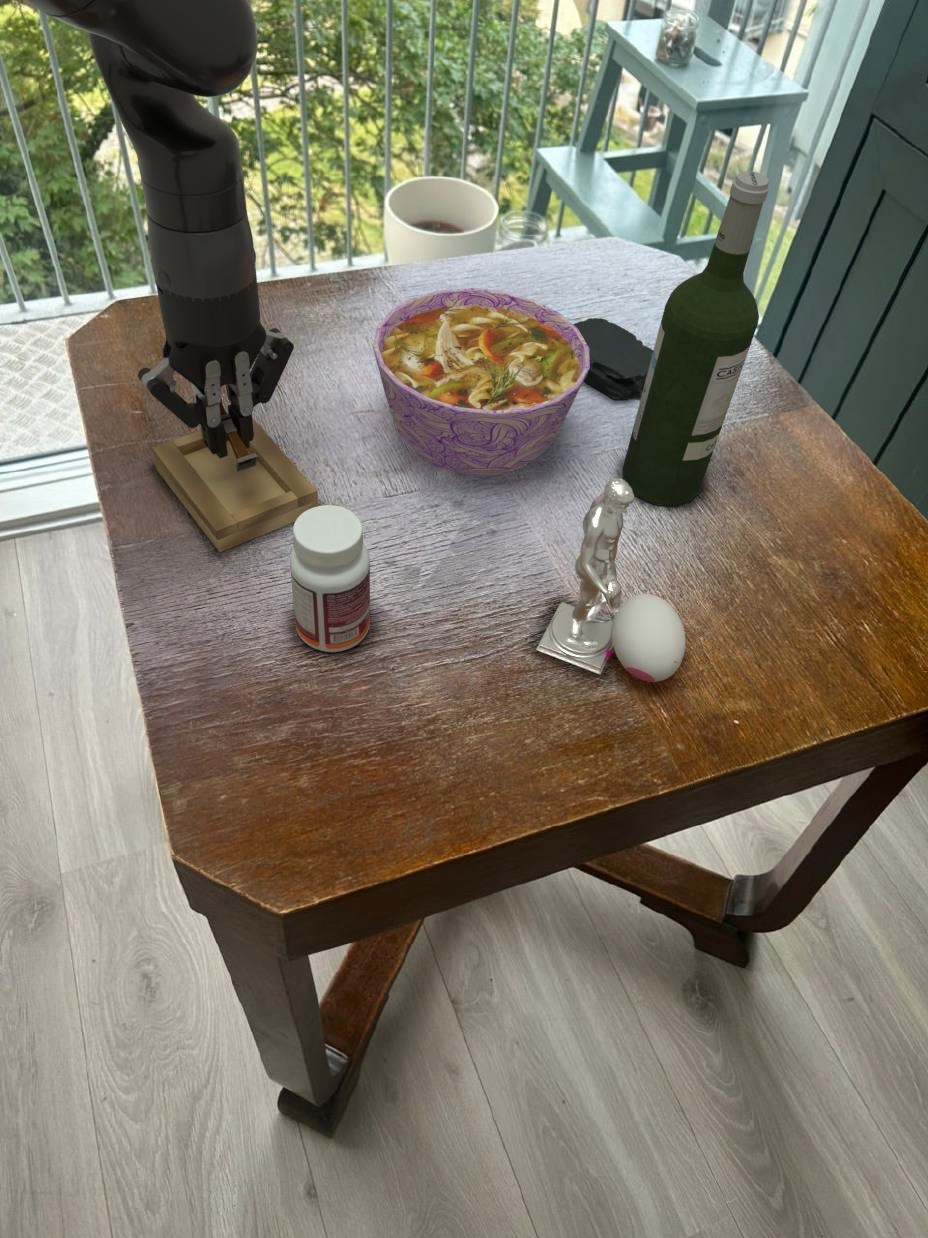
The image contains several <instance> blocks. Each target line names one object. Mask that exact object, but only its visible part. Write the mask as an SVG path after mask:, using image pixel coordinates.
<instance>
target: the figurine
mask: <svg viewBox="0 0 928 1238" xmlns="http://www.w3.org/2000/svg"><path fill="white" fill-rule="evenodd" d="M635 497H636V496H635V494H634V493H633V491H632V489H631V487H630V486H629V484H628V483H627V482H626V481H625V480H623V478H621V477H614V478H611V479H609V481H607V483H606V484H605V487H604V492H602V493H601V494H599V495H598V496H597V497H596V498H595V499H594V500H593V502H592V503H591V504H590V507H589V510H588V511H587V512H586V513H585V515H584V517H583V520H582V531H583V534H584V536H583V539H582V543H581V546H580V553H579V556H578V557H577V558H576V560H575V564H574V570H575V573H576V575H577V577H579V579H580V583H579V591H580V592H579V593H580V597H579V601H578V602H577V603H576V605H572V604H569V603H566V602H563V601H561V602H560V603H559V604H558V607H557V608H556V610H555V612H554V614H553V616H552V618H551V620H550V622H549V624H548V626H547V628H546V630H545V632H544V634H543V635H542V637H541V639H540V642H539V643H538V645H537V647H536V649H535V650H536V651H537V652H539V653H542V654H544V655H547V656H549V657H551V658H555V659H558V660H560V661H563V662H564V663H568V664H570V665H573V666H576V667H578V668H581V669H583V670H585V671H588V672H591V673H594V674H596V675H598V676H599V675H600V676H601V674H602V673H603V670H604V668H605V666H606V664H607V661H608V659H607V650H609V651H612V650H613V649H614V646H613V642H612V624H613V620H612V618H611V617H610V614H607V613H606V614H605V613H602V612H601V611H602V610H604V608H605V607H606V606H608V607H609V609H610V610H611V611H612V612H613V613H614V615H615V614H616V612H617V613H619V612H618V611H620V610H619V609H620V606H621V604H622V603H623V602H624V600H622V597H621V595H622V586H621V583H620V582H619V581H618V580H617V579H618V578H617V577H618V574H617V567H616V558H617V553H618V546H619V541H620V537H621V534H622V530H623V527H624V515H623V514H626V513H627V511H628V508H630V505H631V504H633V502H634V501H635ZM618 608H619V609H618ZM617 610H618V611H617ZM600 612H601V613H600Z"/></svg>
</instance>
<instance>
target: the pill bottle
mask: <svg viewBox="0 0 928 1238" xmlns="http://www.w3.org/2000/svg"><path fill="white" fill-rule="evenodd" d="M363 529H364V528H363V525H362V522H361V520H360V518H359V517H358V516H357V514H355V513H354V512H353V511H352V510H350V509H348V508H346V507H343V506H339V505H333V504H332V505H331V504H326V505H318V506H317V507H314V508H311V509H309V510H307V511H305V512H303V513H302V514H301V515H300V516H299V517H298V518H297V520H296V521H295V522H294V524H293V527H292V536H293V541H292V543H293V548H292V549H291V552H290V556H289V571H290V581H291V582H290V583H291V590H292V591H291V592H292V601H293V602H292V603H293V610H294V611H293V614H294V623H295V630H296V632H297V634H298V636H299V637H300V639H301V640H302V641H303V643H305V644H306V645H307V646H309V647H311V648H312V649H315V650H318V651H321V652H326V653H337V652H338V653H339V652H343V651H346V650H349V649H352V648H354V647H355V646H357V645H359V644H360V642H362V641H363V640H364V638H365V637H367V634H368V632H369V629H370V626H371V580H370V579H371V560H370V558H371V557H370V553H369V550H368V547H367V545H366V544H365V543H364V535H363Z"/></svg>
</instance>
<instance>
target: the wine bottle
mask: <svg viewBox="0 0 928 1238" xmlns="http://www.w3.org/2000/svg"><path fill="white" fill-rule="evenodd" d="M769 183H770V180H769V178H768V177H767V176H766V175H765V174H762V173H759V172H758V171H757V172H756V171H751V170H746V171H745V170H743V171H740V172H738V173H737V175H736V177H735V178H733V180H732V183H731V186H730V190H729V197H728V198H729V199H728V201H727V204H726V207H725V210H724V212H723V216H722V218H721V222H720V224H719V228H718V230H717V233H716V237H715V240H714V243H713V246H712V249H711V252H710V255H709V259H708V261H707V265H705V267H704V269H703V270H702V271H701V272H700V273H697V274H694V275H692V276H690V277H689V278H686V279H685V280H684V281H683V282H681V283H679V284H678V285H677V286H676V287H675V288H674V289H673V290H672V291H671V292H670V294H669V297H668V298H667V301H666V303H665V305H664V309H663V312H662V316H661V321H660V324H659V326H658V327H659V328H658V332H657V334H656V335H657V336H656V339H655V342H654V347H653V349H652V350H653V354H652V358H651V362H650V366H649V369H648V373H647V377H646V381H645V385H644V389H643V392H642V393H641V396H640V400H639V404H638V408H637V411H636V416H635V419H634V423H633V427H632V431H631V434H630V439H629V442H628V446H627V450H626V453H625V458H624V461H623V465H622V468H621V471H622V472H621V473H622V479H623V480H625V481H626V482H627V483H628V484H629V486H630V487H631V489H632V491H633V494H634V496H635V497H638V498H639V499H641V500H642V501H645V502H647V503H650V504H653V505H656V506H665V507H672V506H681V505H683V504H686V503H689V502H691V501H692V500H693V499H694V498H695V497H696V496H697V495H698V494H699V493H700V491H701V488H702V485H703V483H704V479H705V477H706V474H707V471H708V467H709V465H710V462H711V460H712V457H713V454H714V451H715V449H716V445H717V442H718V440H719V437H720V433H721V431H722V428H723V425H724V422H725V420H726V416H727V414H728V411H729V408H730V405H731V403H732V399H733V396H734V394H735V391H736V388H737V385H738V382H739V379H740V376H741V373H742V371H743V367H744V364H745V362H746V360H747V357H748V354H749V351H750V348H751V345H752V343H753V339H754V336H755V333H756V331H757V328H758V324H759V319H760V313H759V308H758V303H757V300H756V298H755V296H754V294H753V292H752V291H751V290H750V289H749V287H748V286H747V284H746V283H745V281H744V280H745V279H744V277H745V275H744V273H745V271H746V270H745V269H746V267H747V262H748V259H749V255H750V253H751V252H750V251H751V248H752V245H753V241H754V238H755V234H756V230H757V227H758V223H759V219H760V216H761V212H762V208H763V205H764V202H765V201H766V199H767V196H768V193H769V190H770V186H769Z"/></svg>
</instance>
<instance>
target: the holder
mask: <svg viewBox="0 0 928 1238" xmlns="http://www.w3.org/2000/svg"><path fill="white" fill-rule="evenodd" d="M252 421H253V430H254V437H253V441H250V442H249V443H250V448H248V449H247V450H248V451H249V452H250V453H251V454H254V453H255V454H256V455H257V456H258V457H257V462H256V466H254V467H251V468H248V469H245V470H242V471H239V472H237V470H236V462H237V459H236V457H235V454H234V452H233V449H232V446H231V444H230V442H229V441H228V442H227V443H226V444H227V451H228V456H226V457H223V458H219V457H218V456H217V455H216V454H214V455H213V454H212V452H211V451H210V450H209V449H208V448H207V446H206V445H205V444H204V442H203V438H202V431H201V429H200V430H198V431H195V432H192V433H189V434H186V435H183V436H179V437H177V438H174V439H172V440H168V441H166V442H163V443H160V444H158V445H154V446H152V447H151V450H152V454H153V459H154V464H155V469H156V471H157V472H158V473H159V475H160V476H161V477H162V479H163V480H164V481H165V483H166V484H167V485H168V486H169V488H170V490H171V491H172V492H173V494H174V495H175V496H176V497H177V499H178V500H179V501H180V503H181V504H182V505H183V507H184V508H185V509H186V510H187V512H188V513H189V515H190V516H191V517H192V518H193V519H194V521H195V522H196V524H197V525H198V526H199V528H200V529H201V530H202V531H203V533H204V534H205V536H206V537H207V538H208V539H209V541H210V542H211V544H212V545H213V546H214V547H215V549H216V550H217V552H219V553H222V552H224V551H227V550H230V549H232V548H234V547H237V546H239V545H241V544H244V543H247V542H250V541H252V540H254V539H257V538H259V537H261V536H264V535H266V534H268V533H271V532H273V531H274V532H275V530H278V529H281V528H283V527H286V526H288V525H290V524H293V523H295V521H296V520H297V518H298V517H299V516H300V515H301V514H302V513H303V512H305V511H307V510H309V509H311V508H314V507H317V506H319V496H318V489H317V488H316V487H315V486H314V485H313V484H312V483H311V482H310V480H309V479H308V478H307V477H306V476H305V475H304V474H303V473H302V472H301V470H300V469H299V468H298V467H297V466H296V465H295V463H293V461H292V460H291V459H290V458H289V457H288V456H287V455H286V454H285V453H284V451H283V449H281V448H280V447H279V446H278V445H277V444H276V442H275V441H274V440H273V439H272V438H271V437H270V436H269V434H268V433H267V432H266V431H265V430H264V429H263V428H262V426H261V425H260V424H259V423H258V422H257V421H256V420H255V419H254V418H253V417H252Z"/></svg>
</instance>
